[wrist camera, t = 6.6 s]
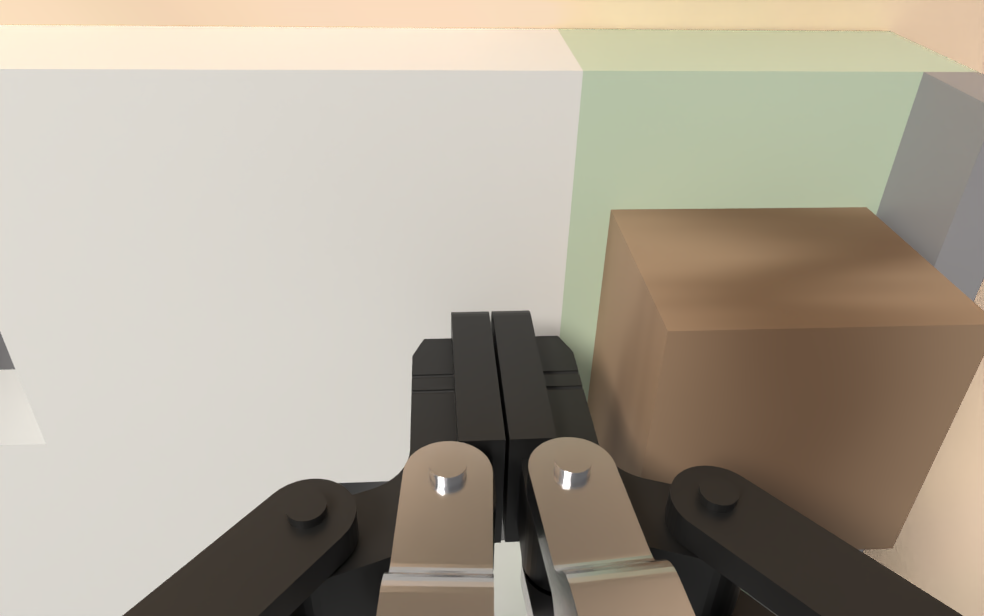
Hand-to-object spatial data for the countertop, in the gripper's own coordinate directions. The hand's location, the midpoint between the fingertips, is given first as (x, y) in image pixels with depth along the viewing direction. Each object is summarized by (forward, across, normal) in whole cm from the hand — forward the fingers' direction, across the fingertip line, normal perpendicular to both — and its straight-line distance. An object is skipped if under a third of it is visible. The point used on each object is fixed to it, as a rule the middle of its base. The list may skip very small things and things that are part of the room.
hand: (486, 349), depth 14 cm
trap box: (+4, +4, +3) cm, 6 cm away
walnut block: (+1, -5, 0) cm, 5 cm away
